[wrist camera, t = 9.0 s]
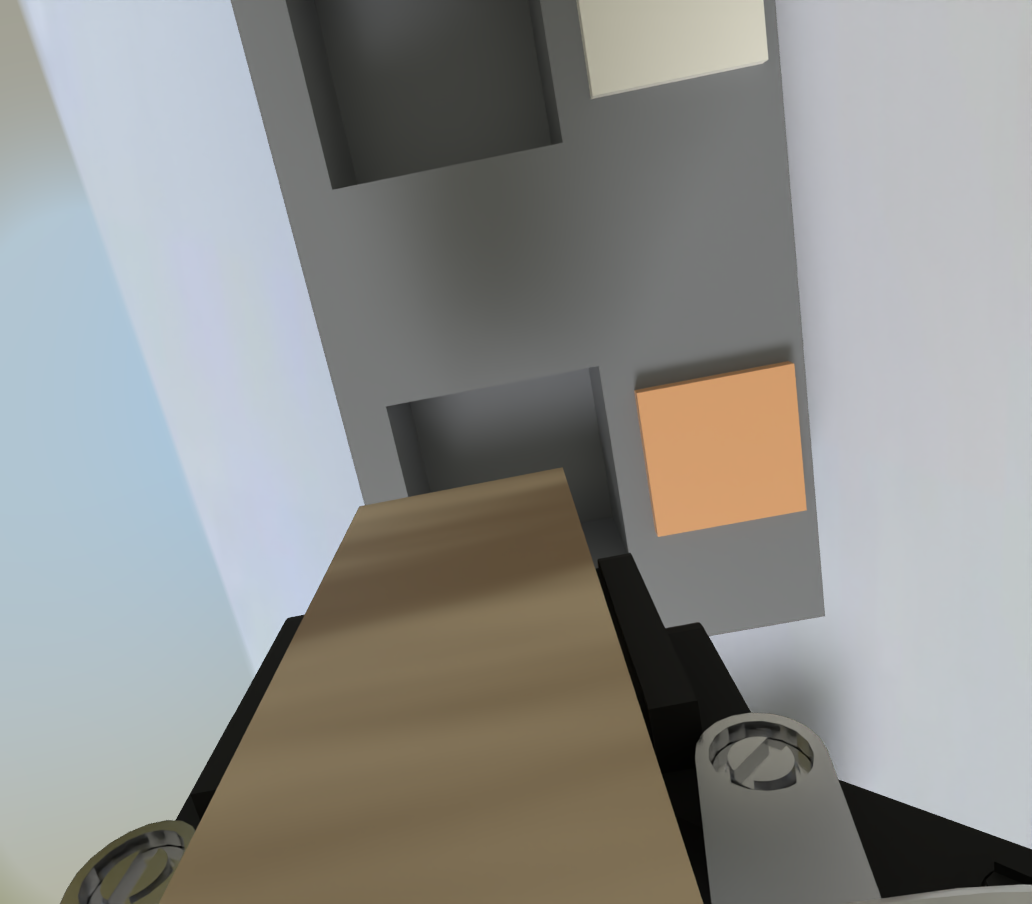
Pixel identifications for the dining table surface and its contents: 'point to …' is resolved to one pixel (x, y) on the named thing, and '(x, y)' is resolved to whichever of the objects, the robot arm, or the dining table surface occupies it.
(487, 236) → the socket block
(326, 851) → the plug
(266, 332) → the dining table surface
